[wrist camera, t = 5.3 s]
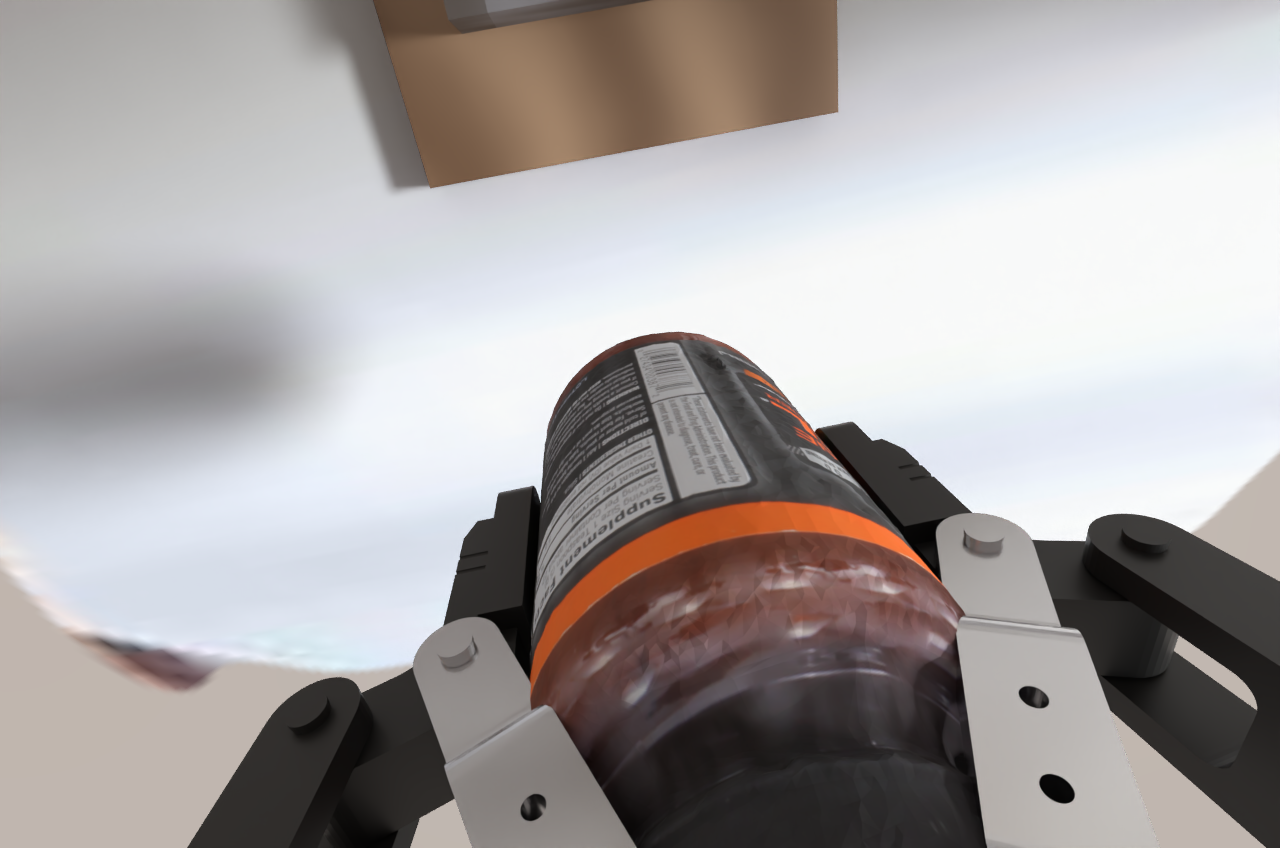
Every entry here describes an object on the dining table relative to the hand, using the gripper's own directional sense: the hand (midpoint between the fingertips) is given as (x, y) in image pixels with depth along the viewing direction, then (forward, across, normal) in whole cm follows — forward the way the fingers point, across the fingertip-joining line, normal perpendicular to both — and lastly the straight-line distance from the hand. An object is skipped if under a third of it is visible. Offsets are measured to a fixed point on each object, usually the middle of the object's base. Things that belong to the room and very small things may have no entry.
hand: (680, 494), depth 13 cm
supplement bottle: (+3, 0, 0) cm, 3 cm away
